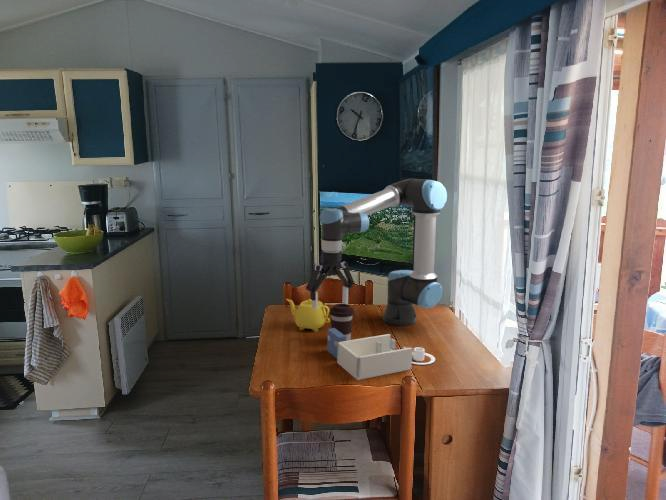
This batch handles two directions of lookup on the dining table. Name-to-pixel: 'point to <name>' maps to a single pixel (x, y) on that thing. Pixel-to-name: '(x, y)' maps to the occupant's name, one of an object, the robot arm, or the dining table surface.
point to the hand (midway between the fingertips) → (330, 305)
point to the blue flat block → (334, 340)
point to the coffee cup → (342, 319)
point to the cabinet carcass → (373, 357)
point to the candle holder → (421, 356)
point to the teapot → (310, 315)
